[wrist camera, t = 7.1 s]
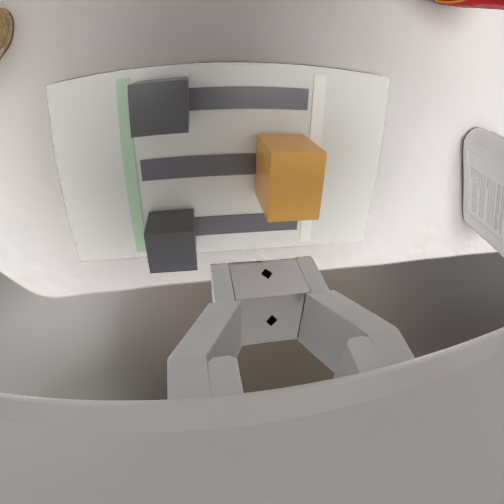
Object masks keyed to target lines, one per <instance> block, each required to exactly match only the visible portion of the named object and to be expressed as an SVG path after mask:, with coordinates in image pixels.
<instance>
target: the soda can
mask: <svg viewBox="0 0 504 504" xmlns="http://www.w3.org/2000/svg"><path fill="white" fill-rule="evenodd" d="M434 1H436V2H438V3H440V4H443V5H448V6H456V7H463V8H486V9H501V10H504V0H434Z"/></svg>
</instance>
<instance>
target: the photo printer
mask: <svg viewBox="0 0 504 504" xmlns="http://www.w3.org/2000/svg"><path fill="white" fill-rule="evenodd" d="M463 167H464V192H463V216H464V220H465V222H466V223H467V224H468V225H469V226H470V227H471V228H472V229H473V230H474V231H476V232H477V233H478V234H479V235H480V236H481V237H482V238H484V239H485V240H486V241H487V242H488V243H489V244H490V245H491V246H492V247H493V248H494V249H495V250H497V251H498V252H499V253H500V254H501V255H502V256H503V257H504V137H502V136H500V135H498V134H496V133H494V132H491V131H487V130H484V129H482V128H475V129H472V130H471V131H470V132H469V133H468V134H467V135H466V138H465V139H464V147H463Z"/></svg>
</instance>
